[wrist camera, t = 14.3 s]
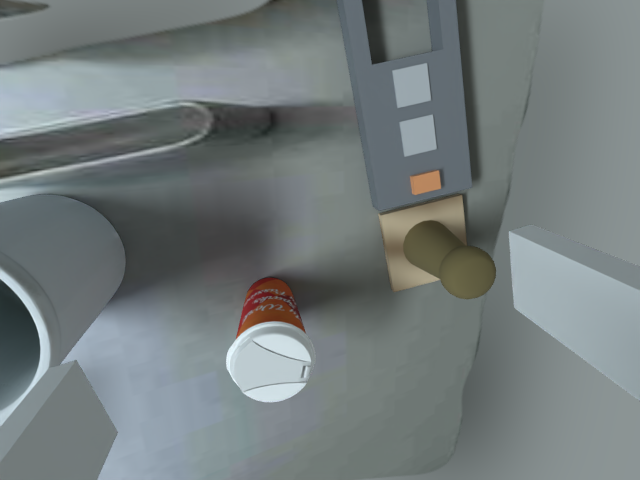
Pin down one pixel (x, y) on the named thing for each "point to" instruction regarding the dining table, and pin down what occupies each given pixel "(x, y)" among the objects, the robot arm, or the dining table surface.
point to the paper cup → (270, 344)
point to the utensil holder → (50, 285)
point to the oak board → (399, 225)
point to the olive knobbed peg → (449, 259)
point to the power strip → (410, 111)
